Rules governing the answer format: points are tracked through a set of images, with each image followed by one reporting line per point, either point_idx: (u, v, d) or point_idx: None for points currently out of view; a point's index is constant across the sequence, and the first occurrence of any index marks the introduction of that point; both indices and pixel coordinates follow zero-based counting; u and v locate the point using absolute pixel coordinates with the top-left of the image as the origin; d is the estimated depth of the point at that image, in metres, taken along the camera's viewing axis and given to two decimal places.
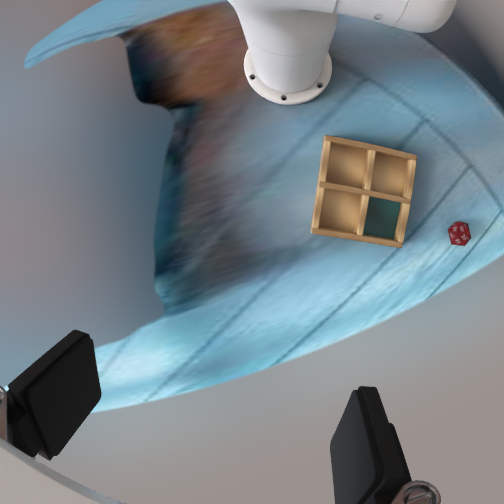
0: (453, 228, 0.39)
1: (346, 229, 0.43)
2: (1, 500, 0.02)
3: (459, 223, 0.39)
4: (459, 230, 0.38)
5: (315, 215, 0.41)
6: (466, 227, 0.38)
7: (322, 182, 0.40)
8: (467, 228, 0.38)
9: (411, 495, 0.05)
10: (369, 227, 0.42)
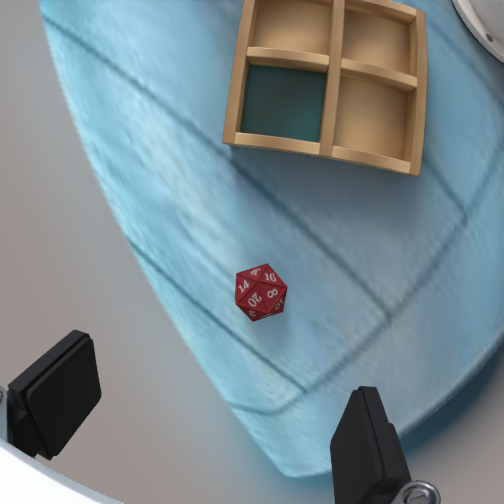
0: (270, 275, 0.22)
1: (255, 42, 0.19)
2: (1, 500, 0.02)
3: (283, 287, 0.21)
4: (269, 288, 0.21)
5: None
6: (275, 306, 0.21)
7: None
8: (274, 308, 0.21)
9: (411, 495, 0.05)
10: (262, 81, 0.20)
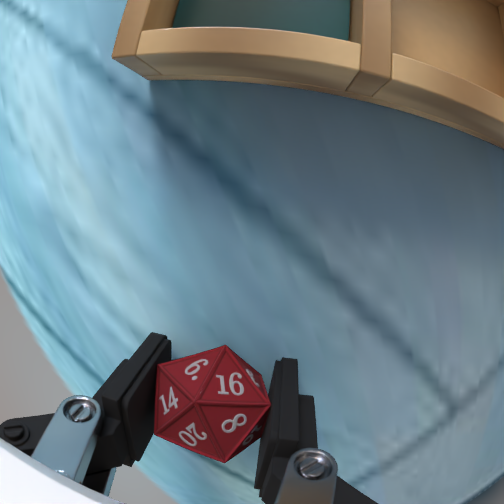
0: (231, 378, 0.09)
1: None
2: (1, 500, 0.02)
3: (261, 408, 0.08)
4: (226, 413, 0.08)
5: None
6: (243, 442, 0.08)
7: None
8: (239, 447, 0.08)
9: (302, 464, 0.06)
10: None
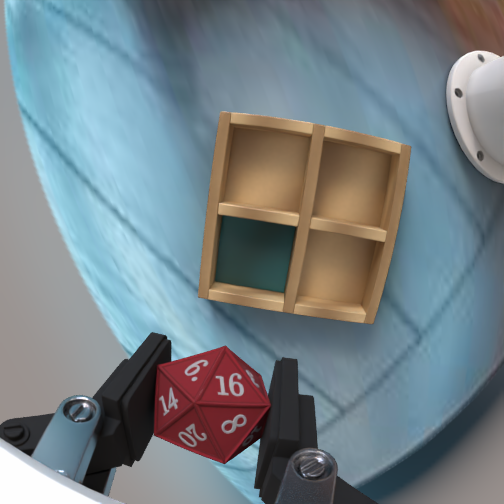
0: (231, 378, 0.09)
1: (229, 185, 0.23)
2: (1, 500, 0.02)
3: (261, 408, 0.08)
4: (226, 414, 0.08)
5: (256, 116, 0.19)
6: (243, 443, 0.08)
7: (323, 130, 0.19)
8: (239, 448, 0.08)
9: (302, 464, 0.06)
10: (234, 231, 0.23)
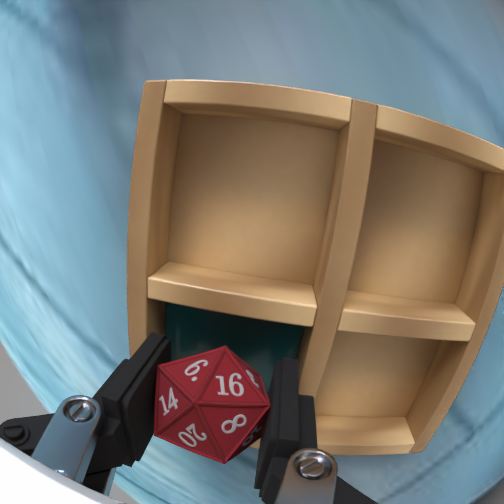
0: (231, 378, 0.09)
1: (175, 230, 0.11)
2: (1, 500, 0.02)
3: (261, 408, 0.08)
4: (226, 414, 0.08)
5: (219, 84, 0.08)
6: (243, 443, 0.08)
7: (373, 115, 0.08)
8: (239, 448, 0.08)
9: (302, 464, 0.06)
10: (189, 317, 0.12)
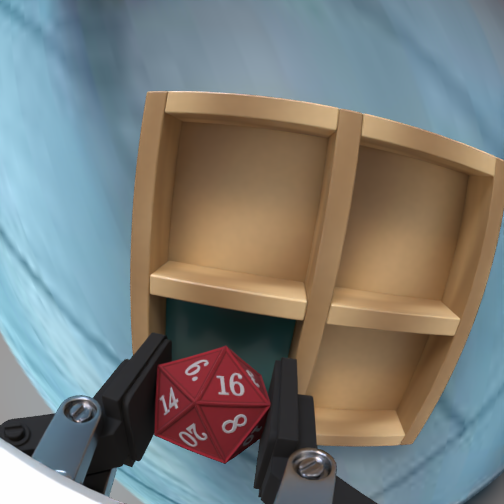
0: (231, 378, 0.09)
1: (175, 231, 0.12)
2: (1, 500, 0.02)
3: (261, 408, 0.08)
4: (227, 414, 0.08)
5: (216, 96, 0.09)
6: (244, 442, 0.08)
7: (359, 123, 0.09)
8: (239, 448, 0.08)
9: (301, 464, 0.06)
10: (188, 313, 0.13)
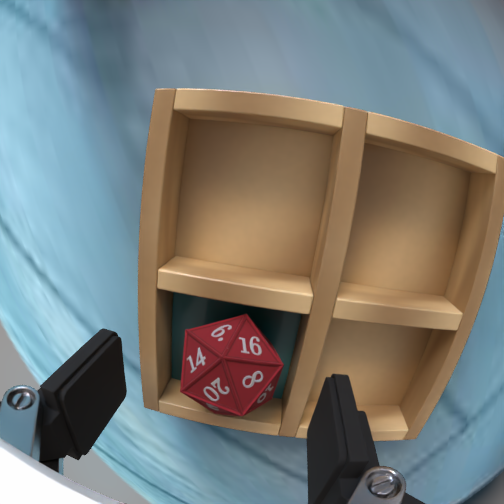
0: (251, 340, 0.10)
1: (182, 227, 0.12)
2: (1, 500, 0.02)
3: (275, 367, 0.10)
4: (247, 369, 0.10)
5: (224, 93, 0.09)
6: (258, 399, 0.10)
7: (363, 121, 0.09)
8: (254, 404, 0.10)
9: (374, 481, 0.05)
10: (195, 307, 0.13)
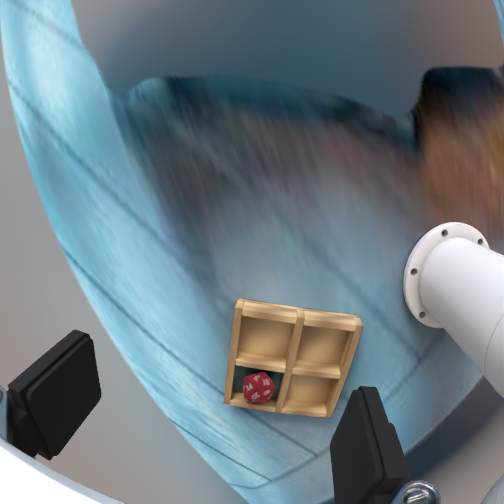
0: (266, 380, 0.33)
1: (241, 342, 0.34)
2: (1, 500, 0.02)
3: (273, 388, 0.32)
4: (265, 389, 0.32)
5: (259, 312, 0.31)
6: (268, 398, 0.32)
7: (303, 321, 0.31)
8: (267, 399, 0.32)
9: (411, 495, 0.05)
10: (245, 367, 0.35)
